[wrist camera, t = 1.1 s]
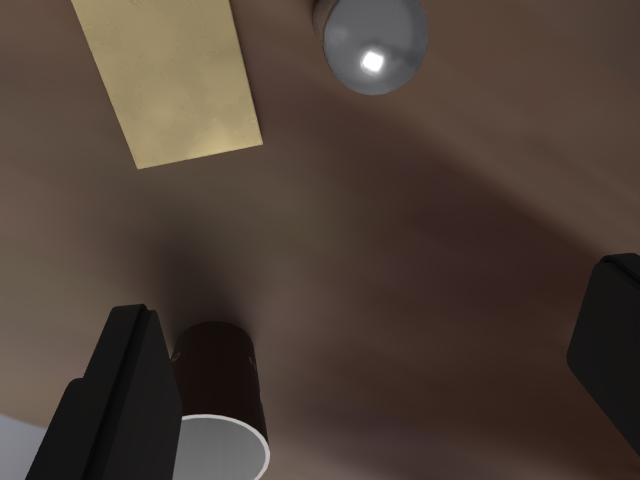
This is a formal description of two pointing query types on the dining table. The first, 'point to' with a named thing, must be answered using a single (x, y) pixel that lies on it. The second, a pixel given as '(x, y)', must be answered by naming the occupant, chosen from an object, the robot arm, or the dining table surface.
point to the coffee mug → (219, 405)
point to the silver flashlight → (372, 41)
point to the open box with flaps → (172, 76)
